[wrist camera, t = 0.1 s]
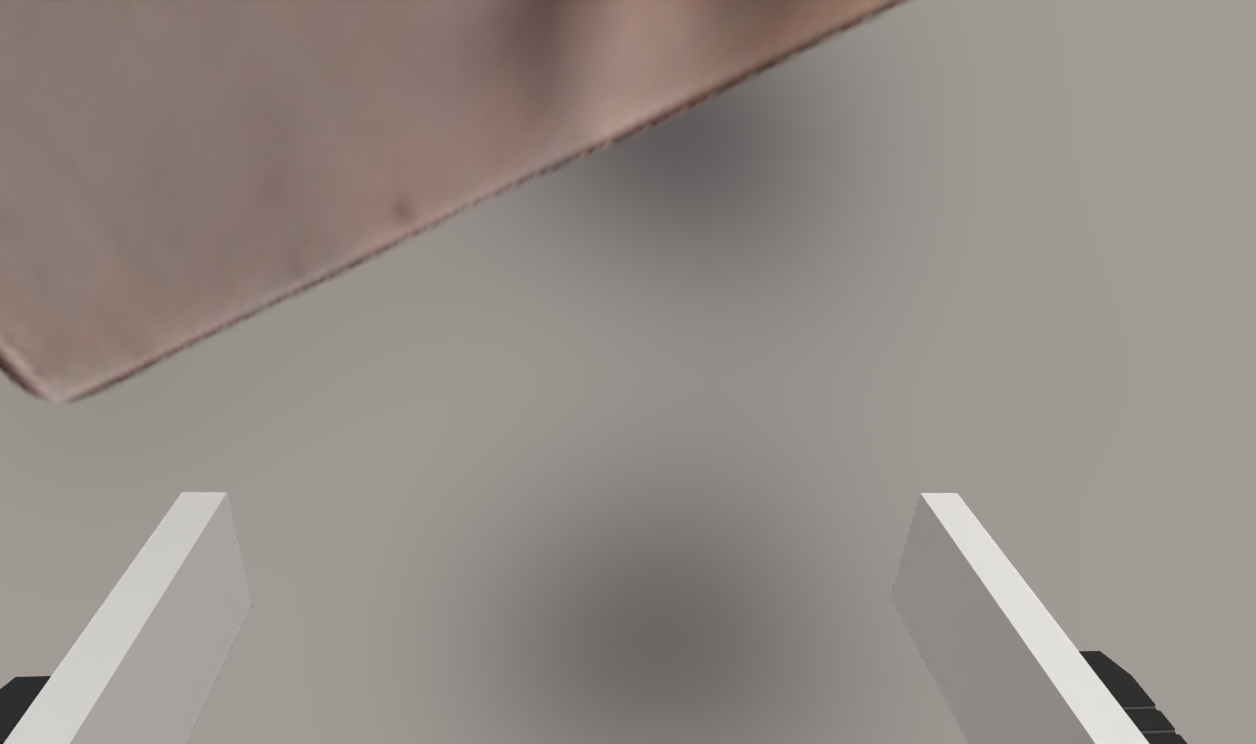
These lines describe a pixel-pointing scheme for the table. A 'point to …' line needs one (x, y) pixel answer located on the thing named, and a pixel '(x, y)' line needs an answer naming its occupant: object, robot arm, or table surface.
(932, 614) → the robot arm
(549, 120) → the table surface
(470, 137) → the table surface
